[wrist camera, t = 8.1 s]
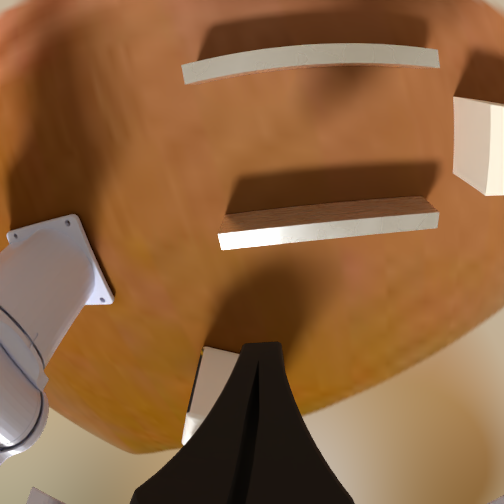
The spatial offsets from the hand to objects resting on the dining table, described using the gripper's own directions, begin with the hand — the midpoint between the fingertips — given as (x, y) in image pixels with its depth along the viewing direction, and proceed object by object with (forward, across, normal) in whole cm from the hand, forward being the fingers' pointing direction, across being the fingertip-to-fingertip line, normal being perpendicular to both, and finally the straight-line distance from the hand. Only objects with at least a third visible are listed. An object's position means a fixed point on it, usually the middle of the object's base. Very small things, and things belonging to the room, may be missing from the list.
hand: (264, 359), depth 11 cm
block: (+10, -15, -6) cm, 19 cm away
